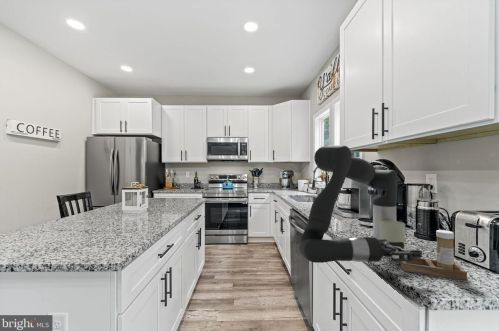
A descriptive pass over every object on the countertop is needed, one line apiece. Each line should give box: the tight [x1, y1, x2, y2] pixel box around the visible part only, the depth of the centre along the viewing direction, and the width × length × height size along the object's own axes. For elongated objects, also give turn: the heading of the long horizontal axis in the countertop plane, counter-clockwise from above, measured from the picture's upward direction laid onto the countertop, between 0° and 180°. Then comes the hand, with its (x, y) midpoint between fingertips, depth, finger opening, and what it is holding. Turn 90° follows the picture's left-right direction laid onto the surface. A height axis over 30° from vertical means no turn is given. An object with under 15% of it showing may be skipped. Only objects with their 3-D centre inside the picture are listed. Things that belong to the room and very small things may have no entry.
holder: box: [399, 257, 468, 281], centre depth 82 cm, size 8×16×2 cm, turn 66°
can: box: [380, 220, 406, 252], centre depth 102 cm, size 9×9×12 cm
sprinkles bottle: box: [435, 229, 455, 269], centre depth 80 cm, size 5×5×14 cm
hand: (411, 249), depth 80 cm, fingers open, 8 cm apart
